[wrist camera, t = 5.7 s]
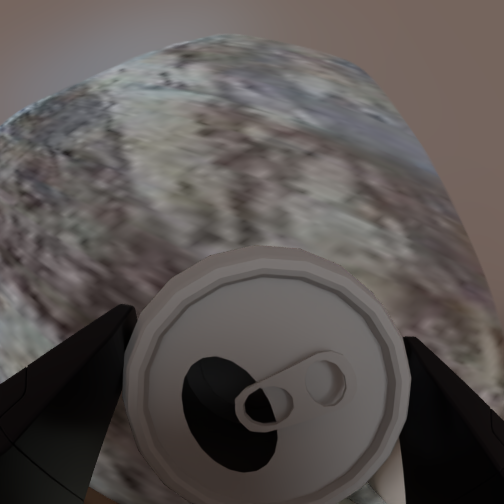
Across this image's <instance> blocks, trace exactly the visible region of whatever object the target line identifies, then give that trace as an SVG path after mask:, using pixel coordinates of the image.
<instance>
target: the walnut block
mask: <svg viewBox="0 0 504 504" xmlns="http://www.w3.org/2000/svg"><path fill="white" fill-rule="evenodd" d="M84 504H118V503H117V502H115V501H113V500H111V499H109V498H107V497H106V496H104V495H102V494H100V493H99V492H97V491H95V490H93V489H92V488H90V487H88V490H87V494H86V497H85V500H84Z"/></svg>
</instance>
